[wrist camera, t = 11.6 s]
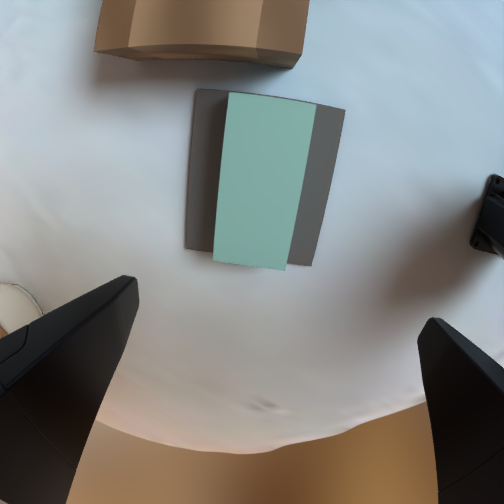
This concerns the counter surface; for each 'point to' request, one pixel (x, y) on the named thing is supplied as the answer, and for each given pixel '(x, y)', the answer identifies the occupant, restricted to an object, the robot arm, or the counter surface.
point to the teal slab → (261, 179)
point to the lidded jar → (16, 308)
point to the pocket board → (204, 30)
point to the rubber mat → (209, 165)
